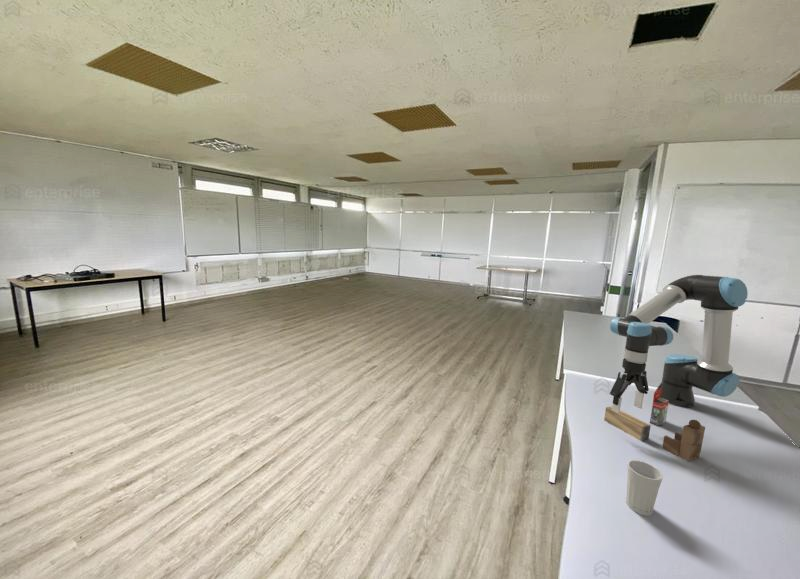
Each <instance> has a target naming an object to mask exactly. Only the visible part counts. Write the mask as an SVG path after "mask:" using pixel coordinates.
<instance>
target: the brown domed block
mask: <svg viewBox="0 0 800 579" xmlns="http://www.w3.org/2000/svg"><path fill="white" fill-rule="evenodd" d="M705 430H706V426H704V425H702V424H701V422H700V421H699V420H697V419H690V420H689V421H688V424H685V425H683V427H682V431H681V432H682V433H681V432H680V433H679V432H674V437H673V438H672V437H671V436H668V435H664V436H663V441H662V448H661V449H663V450H665V451H666V452H669V453H671V454H673V455H675V456H676V457H679V458H681V459H683V460H684V461H686V462H690V461H693V460H696V459H698V458H700V457H701V451H702V446H703V441H704V435H705Z"/></svg>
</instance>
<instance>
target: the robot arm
mask: <svg viewBox="0 0 800 579" xmlns="http://www.w3.org/2000/svg"><path fill="white" fill-rule="evenodd" d="M748 295H749V293H748V287H747V285H746V284H745V283H744V281H743V280H742V279H739V278H736V277H735V278H734V277H728V276H719V275H703V274H691V275H687V276H683V277H681V278H678V279H676V280H674V281H672V282H669V284H666V285H665V286H664V287H663V288H662V291H661V292H659V293H658V294H657V295H655V296H654V297H653V298H651V299H649V300H648V301H647V302H645V303H643V304H642V305H641V306H639V307H638V308H636V309H635V310H634V311H632V312H630V313H629V314H628V315H627V316H625V317H624V318H622V317H614V318H613V319H611V321H610V324H609V328H610V331H611V332H612V333H613V334H615V335H619V336H622V337H624V338H626V341H625V346H624V352H623V353H624V354H623V359H622V363H621V364H622V365H621V367H622V368H623V369H624V371H623V372H620V371H619V372H618V374H617V377H616V380H615V382H614V384H613V386H612V387H611V389H610V392H609V395H610V396H612V398H613V399H612V410H613V411H614V412H616V413H620V410H621V407H622V395H623V394H624V393H625V391H626V390H627V388H628V386H631V385H632V384H634V385H635V387H636V391H635V396H634V403H633V406H634V407H636V408H638V409H643V404H644V403H643V402H644V397H645V396H644V395H645V394H646V395H647V394H648V392H649V383H648V377H647V373H648V372H647V371H646V366H647V365H646V364H647V360H648V355H649V354H648V353H649V348H650V347H652V346H654V347H655V346H656V347H657V346H659V347H660V346H665V345H669V344H671V343H672V342H673V340H674V333H673V331H672V330H671V329H670V328H668V327H666V326H653V325H651V324H650V323H652V322H653V321H654V320H656V319H657V318H658V317H660V316H661V315H663V314H664V313H665V312H668V311H669V310H670V309H672V308H673V307H674V306H675V305H677V304H682V303H684V302H685V301H690V300H691V301H692V300H693V301H698V302H700V308H701V309H702V310H704V319H703V334H702V336H703V337H702V349H701V359H699V360H698V358H697V357H694V356H692V355H686V354H685V355H684V354H676V353H675V354H668V355H666V357H665V360H664V363H663V364H664V365H663V371H662V377H661V378H662V379H661V382H660V383H659V385H658V386H657V388H656V390H658V389H660V388H662V390H661V394H660V398H662V399H665V400H668V401H669V403H668V404H670V405H674V406H679V407H683V408H686V407H687V408H691V407H694V406H695V403H696V399H695V396H694V395H695V394H694V391H693V388H697V389H699V390H702V391H705V392H707V393H709V394H711V395H716V396H719V397H723V398H725V397H728V396H731V395H732V394H733V393H734V392H735V391H736V389H737V388H738V386H739V383H740V380H741V379H740V377H739V374H737V373H735V372H733V371H734V367H733V365H731V364H730V363H729V358H730V351H731V350H730V348H731V337H732V335H731V334H732V325H733V313H734V312H736V311H738V310H739V307H741V306H744V304H745V303H746V302H747V301H746V300H747V299H748ZM656 390H655V391H656ZM658 392H659V391H658Z"/></svg>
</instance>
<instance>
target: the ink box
mask: <svg viewBox="0 0 800 579" xmlns="http://www.w3.org/2000/svg"><path fill="white" fill-rule="evenodd" d="M661 390H662V388H660V389H658V390H655V391H654V392H653V400H652V405H651V411H650V419H649V423H650V424H653V425H655V426H658V427H661V425H662V424H664V423H665V422H667V416H668V408H669V404H670V403H669V401H668V400H665V399H662V398H660V394H661ZM658 391H659V392H658Z"/></svg>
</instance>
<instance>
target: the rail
mask: <svg viewBox="0 0 800 579" xmlns="http://www.w3.org/2000/svg"><path fill="white" fill-rule="evenodd" d="M604 421H605V422H607V423H608V424H610V425H612V426H613V427H615V428H618V429H619V430H621V431H622V432H624V433H627V434H628V435H629V436H631V437H633V438H635V439H637V440H638V441H640V442H644V441H649V438H650V431H651V427H652V425H650V424H649V423H647V422H644V421H642V420H641V419H639V418H637V417H635V416H633V415H631V414H629V413H627V412H625V411H623V410H621V409H620V413H616V412H614V411H613V410H612V406H607V407H605V412H604Z"/></svg>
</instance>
